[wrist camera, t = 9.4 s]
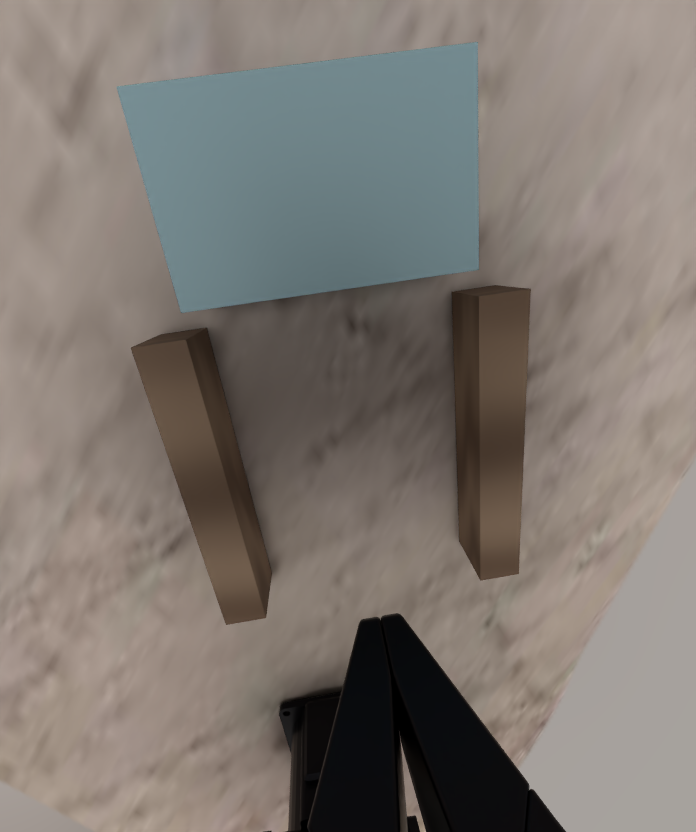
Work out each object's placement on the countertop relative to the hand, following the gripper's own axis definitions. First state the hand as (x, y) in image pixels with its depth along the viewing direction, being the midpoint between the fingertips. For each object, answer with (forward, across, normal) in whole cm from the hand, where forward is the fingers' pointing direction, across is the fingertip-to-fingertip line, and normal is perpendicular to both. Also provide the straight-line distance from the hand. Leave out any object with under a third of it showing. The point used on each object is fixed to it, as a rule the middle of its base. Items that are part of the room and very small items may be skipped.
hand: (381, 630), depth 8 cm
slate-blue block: (+12, 0, -9) cm, 15 cm away
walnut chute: (+12, 0, +2) cm, 12 cm away
